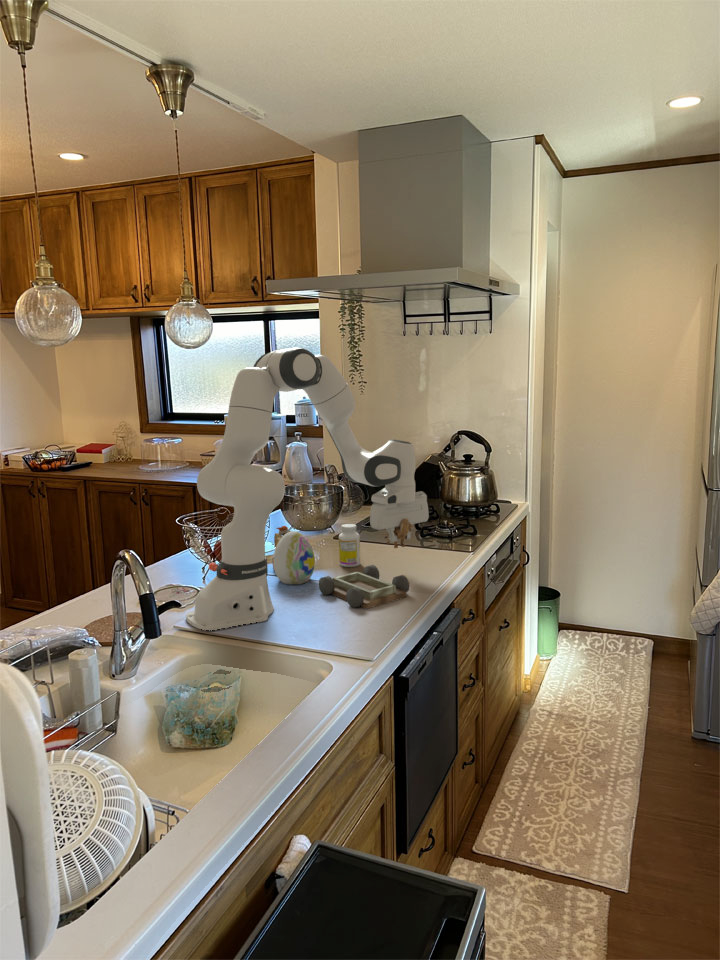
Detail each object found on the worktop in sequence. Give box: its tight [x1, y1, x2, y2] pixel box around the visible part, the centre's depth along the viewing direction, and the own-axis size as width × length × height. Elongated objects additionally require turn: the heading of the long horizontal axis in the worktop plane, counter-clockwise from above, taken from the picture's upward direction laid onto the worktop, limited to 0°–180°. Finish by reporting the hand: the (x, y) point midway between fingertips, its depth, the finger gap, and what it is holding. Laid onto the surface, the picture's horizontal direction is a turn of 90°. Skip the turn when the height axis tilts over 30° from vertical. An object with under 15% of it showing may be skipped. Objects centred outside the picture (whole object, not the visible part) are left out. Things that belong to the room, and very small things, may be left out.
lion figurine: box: [384, 519, 415, 549], centre depth 217 cm, size 15×5×9 cm, turn 26°
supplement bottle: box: [338, 523, 361, 568], centre depth 228 cm, size 7×7×13 cm
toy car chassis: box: [318, 564, 410, 610], centre depth 201 cm, size 18×20×5 cm
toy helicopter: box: [272, 525, 291, 572], centre depth 230 cm, size 8×21×14 cm, turn 17°
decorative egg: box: [272, 530, 316, 585], centre depth 213 cm, size 12×12×15 cm
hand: (400, 540), depth 215 cm, fingers closed on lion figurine, 4 cm apart
